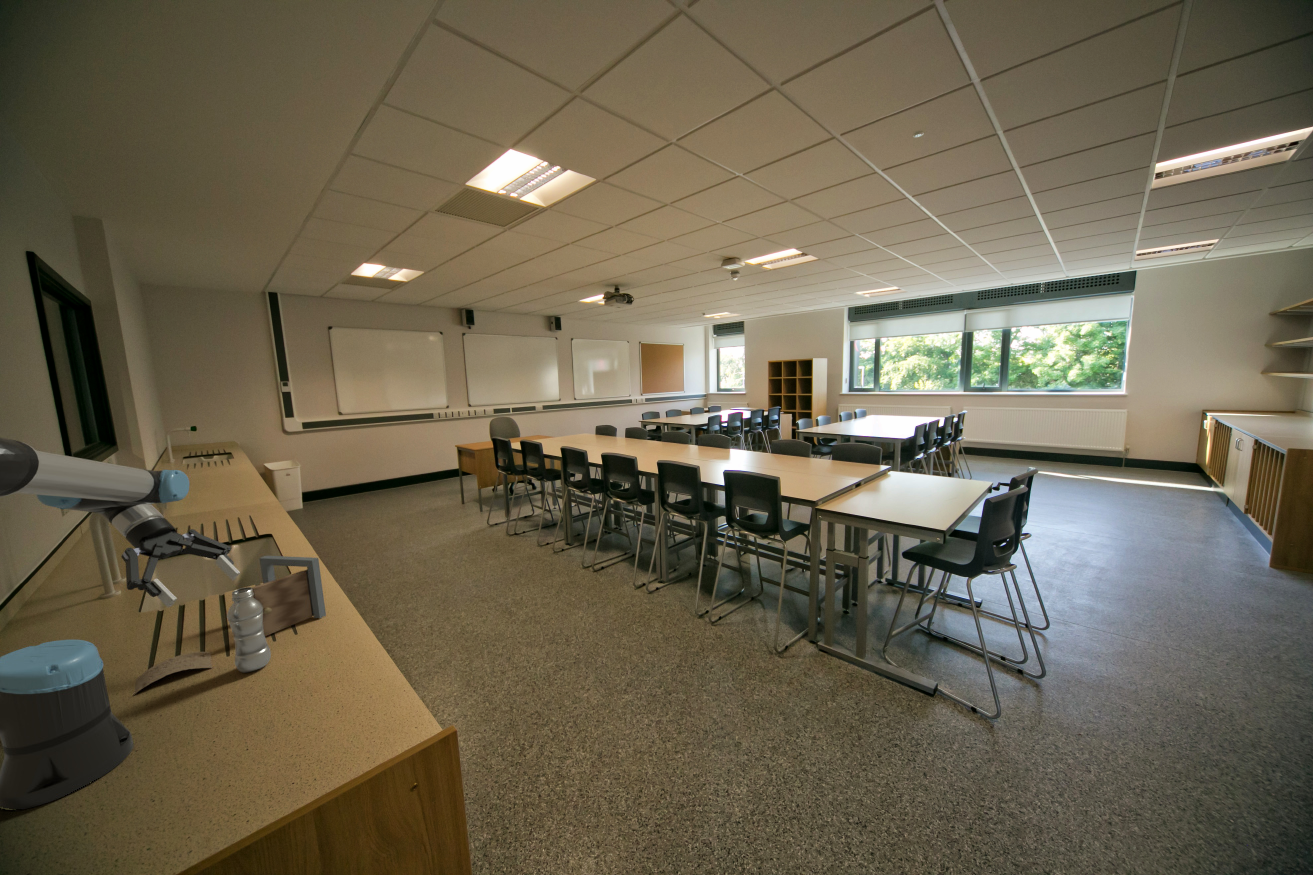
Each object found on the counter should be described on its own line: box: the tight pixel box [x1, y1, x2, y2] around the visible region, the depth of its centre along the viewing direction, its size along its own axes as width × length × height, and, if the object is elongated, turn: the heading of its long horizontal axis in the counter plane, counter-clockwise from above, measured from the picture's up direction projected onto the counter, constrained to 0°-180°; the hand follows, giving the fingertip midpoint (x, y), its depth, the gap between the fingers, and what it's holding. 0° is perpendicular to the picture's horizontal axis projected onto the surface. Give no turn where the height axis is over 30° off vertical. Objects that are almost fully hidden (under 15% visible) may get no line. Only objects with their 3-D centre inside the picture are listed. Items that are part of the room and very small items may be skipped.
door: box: [251, 569, 314, 637], centre depth 127 cm, size 13×3×14 cm, turn 151°
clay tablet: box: [132, 651, 213, 696], centre depth 110 cm, size 14×10×3 cm
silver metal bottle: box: [226, 586, 272, 673], centre depth 109 cm, size 6×7×20 cm
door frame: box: [259, 555, 327, 619], centre depth 134 cm, size 2×18×18 cm, turn 81°
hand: (206, 588), depth 110 cm, fingers open, 13 cm apart
